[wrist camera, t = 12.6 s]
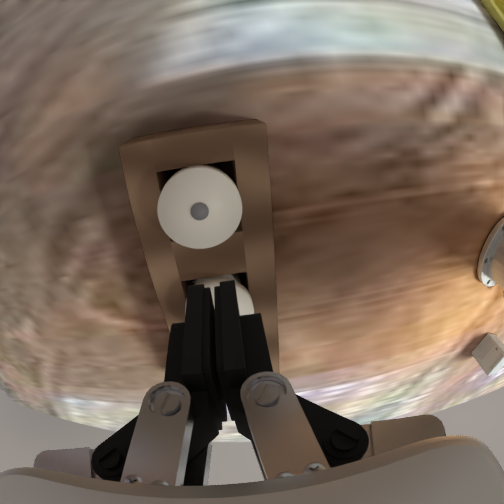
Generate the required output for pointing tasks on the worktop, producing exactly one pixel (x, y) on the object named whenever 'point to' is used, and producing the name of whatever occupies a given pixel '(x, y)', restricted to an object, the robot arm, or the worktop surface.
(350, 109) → the worktop surface
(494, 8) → the plastic component
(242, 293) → the knob
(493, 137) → the worktop surface
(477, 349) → the product box
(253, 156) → the mount
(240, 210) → the knob
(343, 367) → the worktop surface
